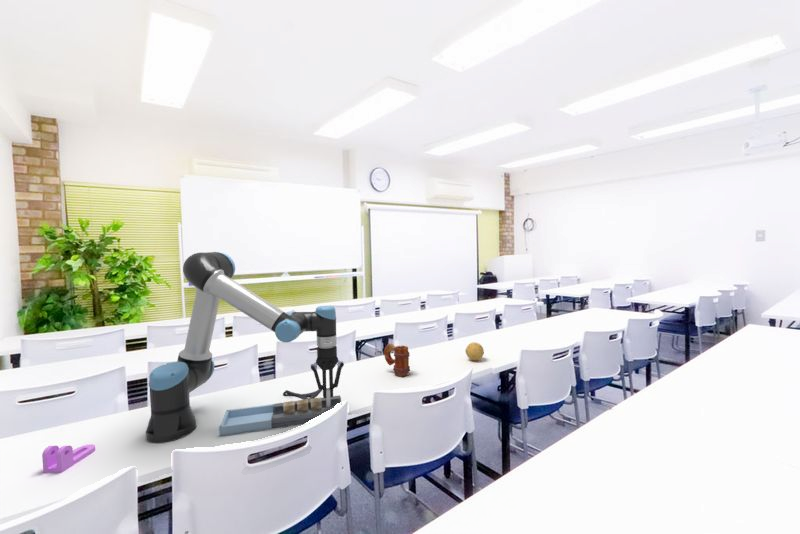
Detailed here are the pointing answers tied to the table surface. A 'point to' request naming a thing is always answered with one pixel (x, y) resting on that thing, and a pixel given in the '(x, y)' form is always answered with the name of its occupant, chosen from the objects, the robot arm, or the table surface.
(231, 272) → the robot arm
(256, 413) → the tray
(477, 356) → the stress ball
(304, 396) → the bracket
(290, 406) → the wooden cube
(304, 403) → the wooden cube
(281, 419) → the slot bed
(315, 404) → the wooden cube
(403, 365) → the mug
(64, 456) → the bracket
